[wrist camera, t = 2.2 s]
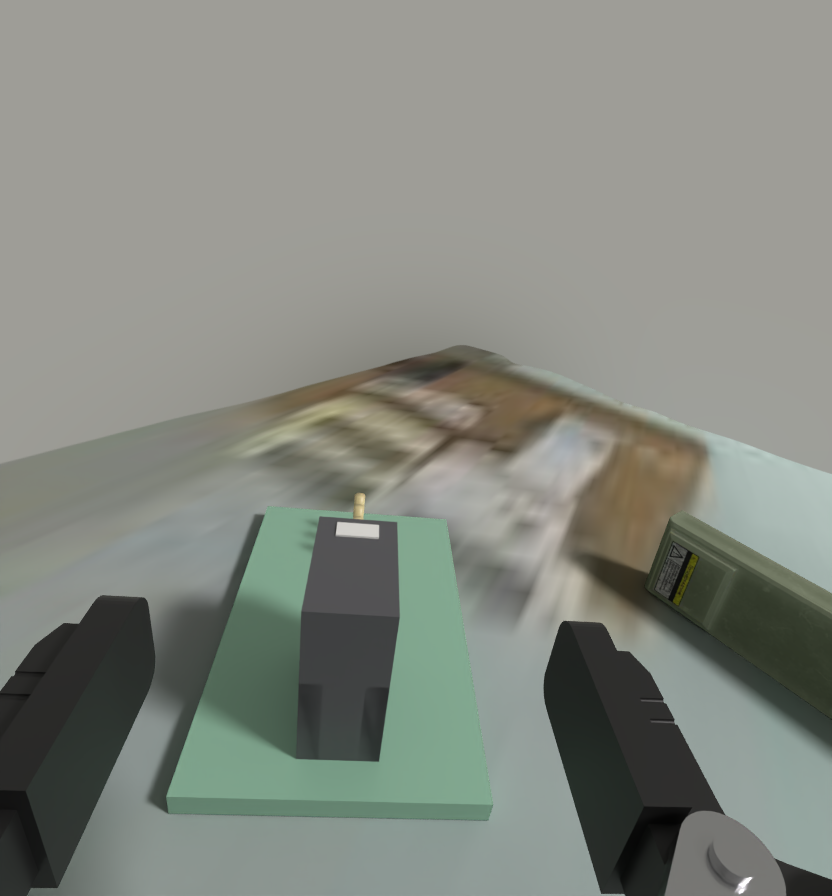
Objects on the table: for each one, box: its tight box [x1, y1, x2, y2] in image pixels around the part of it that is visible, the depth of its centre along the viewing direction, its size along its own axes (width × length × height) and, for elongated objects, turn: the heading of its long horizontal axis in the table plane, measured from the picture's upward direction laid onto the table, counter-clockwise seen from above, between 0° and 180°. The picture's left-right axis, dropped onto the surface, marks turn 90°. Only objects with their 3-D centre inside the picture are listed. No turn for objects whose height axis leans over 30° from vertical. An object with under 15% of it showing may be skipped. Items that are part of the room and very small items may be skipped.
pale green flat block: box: [166, 493, 493, 820], centre depth 33 cm, size 22×14×5 cm, turn 3°
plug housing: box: [296, 516, 400, 762], centre depth 26 cm, size 6×4×9 cm, turn 3°
